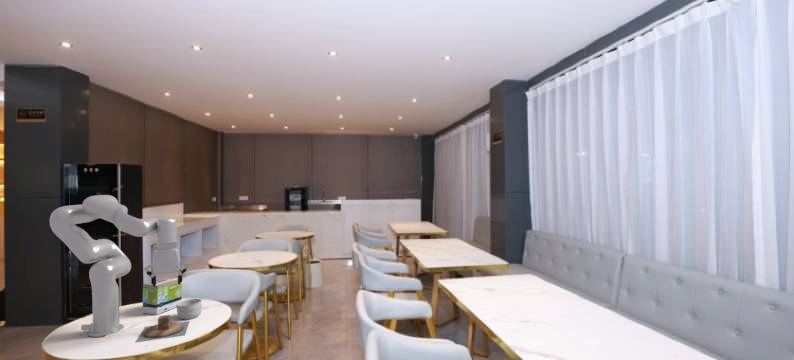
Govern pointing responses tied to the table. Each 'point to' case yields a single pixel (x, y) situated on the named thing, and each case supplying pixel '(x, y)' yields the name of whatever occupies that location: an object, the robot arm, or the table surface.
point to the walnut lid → (163, 328)
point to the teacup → (189, 308)
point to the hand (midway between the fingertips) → (167, 284)
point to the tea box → (161, 296)
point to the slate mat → (181, 333)
